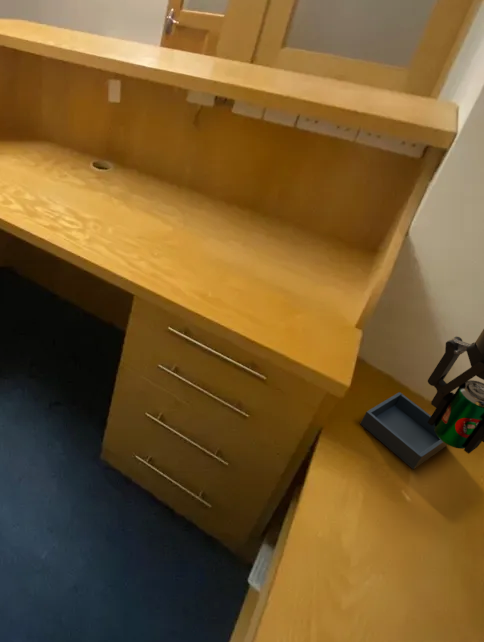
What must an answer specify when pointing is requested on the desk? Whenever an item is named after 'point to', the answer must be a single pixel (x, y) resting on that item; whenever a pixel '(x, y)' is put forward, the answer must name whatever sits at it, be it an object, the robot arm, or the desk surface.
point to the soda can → (462, 415)
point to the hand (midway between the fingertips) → (451, 434)
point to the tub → (403, 429)
